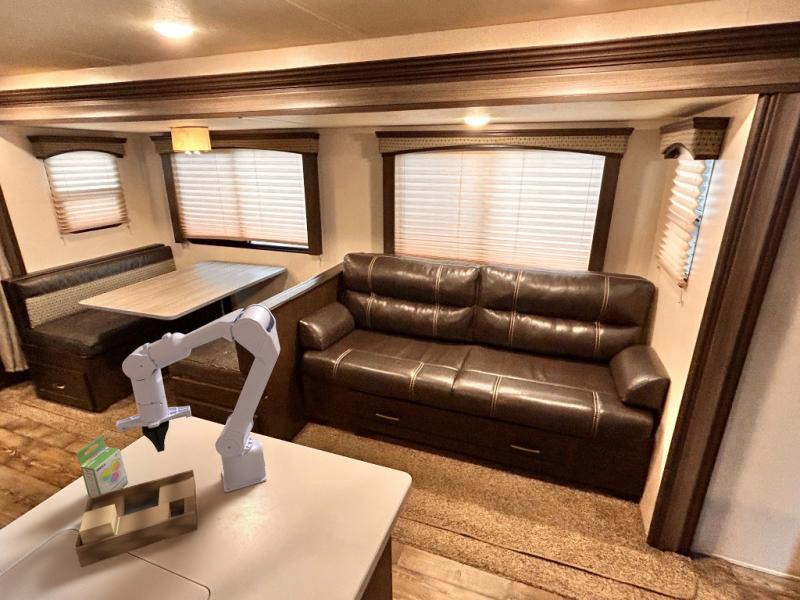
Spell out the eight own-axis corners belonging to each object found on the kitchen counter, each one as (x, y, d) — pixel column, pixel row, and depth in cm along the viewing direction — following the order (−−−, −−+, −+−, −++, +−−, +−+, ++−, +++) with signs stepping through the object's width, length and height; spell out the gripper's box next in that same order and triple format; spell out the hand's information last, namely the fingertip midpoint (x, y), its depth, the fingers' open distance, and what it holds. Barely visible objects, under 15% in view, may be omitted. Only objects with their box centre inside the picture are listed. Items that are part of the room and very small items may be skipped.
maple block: (118, 519, 86) (114, 504, 85) (115, 538, 82) (110, 522, 80) (89, 528, 84) (84, 512, 82) (84, 547, 79) (79, 531, 78)
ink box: (104, 505, 93) (90, 455, 89) (89, 502, 94) (75, 452, 90) (129, 482, 100) (117, 435, 95) (114, 480, 100) (102, 433, 96)
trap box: (195, 484, 99) (192, 467, 98) (197, 529, 87) (193, 510, 86) (94, 513, 91) (89, 495, 89) (81, 567, 79) (74, 547, 77)
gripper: (109, 415, 86) (122, 469, 91) (187, 399, 92) (195, 450, 97) (114, 398, 92) (126, 449, 97) (186, 384, 98) (195, 433, 103)
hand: (161, 449), depth 97 cm, fingers closed
